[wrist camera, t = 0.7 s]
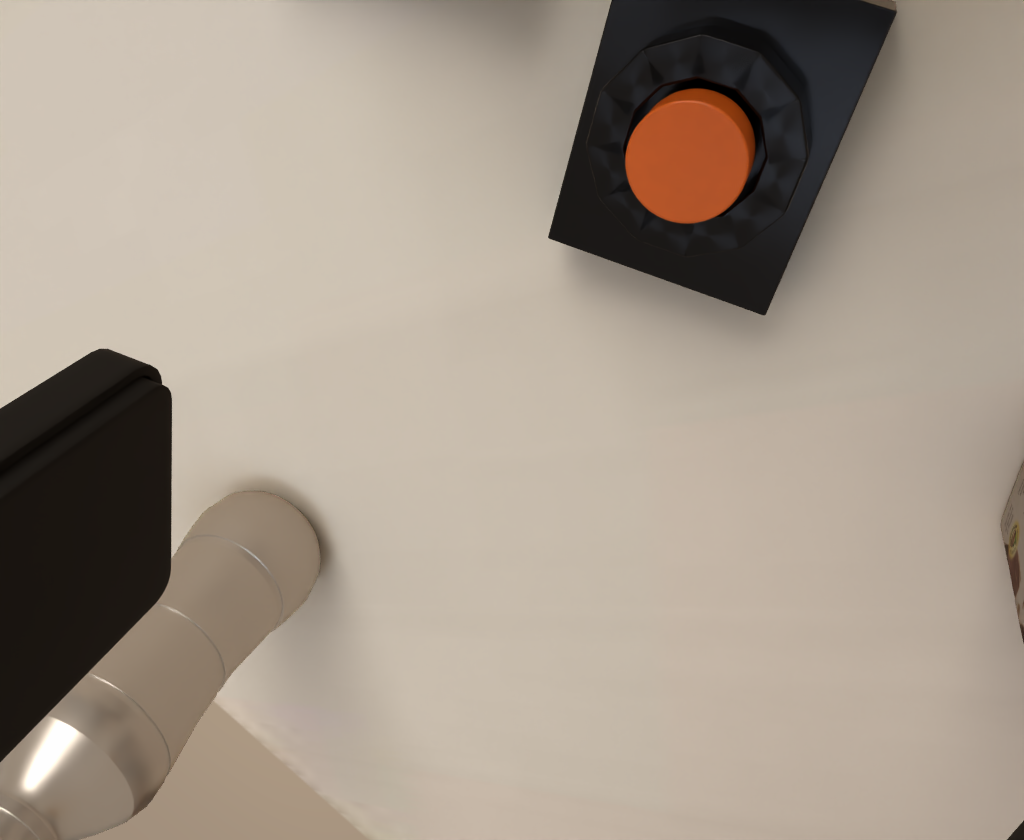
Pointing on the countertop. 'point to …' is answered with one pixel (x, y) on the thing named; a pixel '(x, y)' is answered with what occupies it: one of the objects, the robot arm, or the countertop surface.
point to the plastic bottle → (161, 673)
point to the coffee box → (1016, 543)
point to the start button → (690, 156)
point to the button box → (764, 99)
